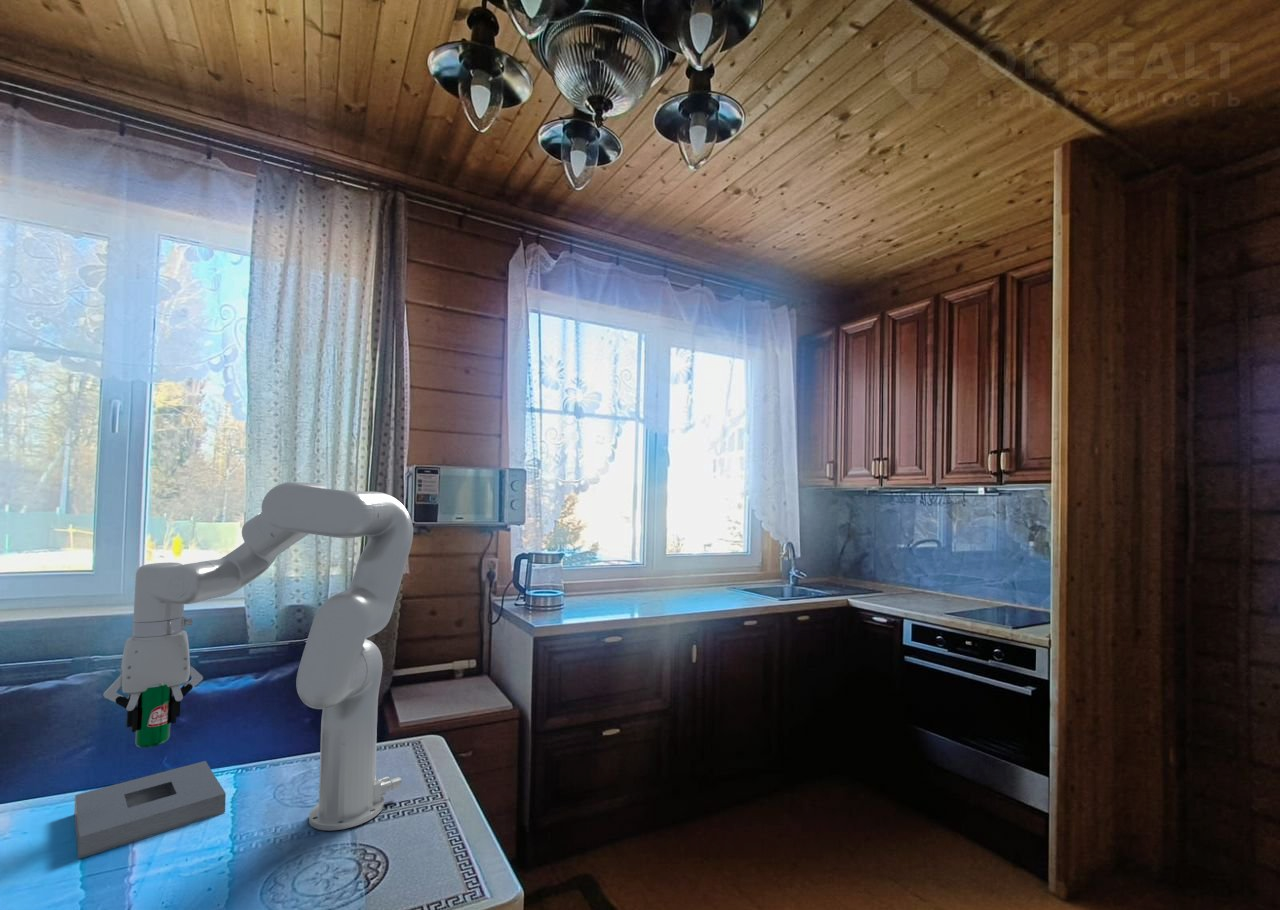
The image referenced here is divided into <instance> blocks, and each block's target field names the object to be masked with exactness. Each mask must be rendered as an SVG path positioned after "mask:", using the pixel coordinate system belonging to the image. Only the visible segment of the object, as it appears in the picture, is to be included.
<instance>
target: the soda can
mask: <svg viewBox="0 0 1280 910" xmlns="http://www.w3.org/2000/svg"><path fill="white" fill-rule="evenodd" d="M172 696H173V694H172V689H171V687H167V685H166V684H160V683H159V684H154V685H152V686H150V687H149V688H147V690H146V691H145V692H143V693H140V696H139V698H138V701H137V703H136V705H137V709H138V725H137V731H136V732H135V740H134V741H135V743H134V744H135V745H136V747H138V748H143V749H144V748H145V749H146V748H147V749H148V748H153V747H157V746H160V745H162V744H163V745H164V744H165V743H166V742H167V741H168V740H169V739H170V737H171V723H170V719H171V702H172Z"/></svg>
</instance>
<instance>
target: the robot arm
mask: <svg viewBox="0 0 1280 910" xmlns="http://www.w3.org/2000/svg"><path fill="white" fill-rule="evenodd" d="M308 535H317V536H324V537H331V538H337V539H354V538H360V537H361V538H362V537H368V538H367V539H368V540H367V543H366V545H365V546H364V549H363V550H362V552H361V554H360V556H359V558H358V560H357V563H356V566H355V571H354V573H353V577H352V580H351V582H350V584H349V585H348V586H349V587H348V589H346V590H344V591H340V592H338V593H336V594H334V595H331V596H330V597H329V598H328V599H326V600H325V601H324V602H323V603H322V605H320V607H319V608H318V610H317V612H316V614H315V616H314V618H313V620H312V623H311V626H310V629H309V632H308V636H307V639H306V643H305V645H304V649H303V652H302V656H301V660H300V661H299V662H300V663H299V666H298V670H297V673H296V678H295V679H296V680H295V681H296V682H295V683H296V684H295V685H296V691H297V694H298V697H299V698H300V699H299V700H301V701H302V703H303V704H304V705H306V706H307V707H308V708H312V709H315V710H322V713H321V723H320V753H319V754H320V755H319V756H320V757H319V786H318V787H319V791H318V793H319V794H318V795H319V796H318V803H317V804H316V805H314V807H313V808H312V809H311V810H310V812H308V813H309V814H308V823H309V825H310V827H312V828H314V829H316V830H319V831H328V832H329V831H330V832H331V831H340V830H347V829H350V828H351V829H352V828H354V827H357V826H360V825H363V824H365V823H367V822H369V821H370V820H372V819H374V818H375V817H377V816H378V815H379V813H381V812H382V810H383V809H384V806H385V797H384V795H386V792H389V791H395V790H396V789H400V788H401V787H402V779H401V777H400V776H398V777H395V778H394V777H393V778H391V779H390V777H389V776H388V775H387V776H385V777H382V778H379V779H377V777H376V776H377V743H378V742H377V740H378V739H377V738H378V737H377V736H378V734H377V732H378V731H377V730H378V729H377V728H378V707H379V693H380V686H381V683H382V674H383V664H384V663H383V657H382V653H381V650H380V649H379V647H378V646H377V644H375V643H374V642H373V641H371V640H369V639H368V638H370V637H372V636H375V635H376V634H378V633H379V632H382V630H383V629H384V628H386V627H387V625H388V624H389V622H390V619H391V617H392V614H393V611H394V606H395V603H396V600H397V596H398V593H399V591H400V586H401V583H402V580H403V579H402V578H403V575H404V571H405V568H406V565H407V562H408V558H409V555H410V553H411V548H412V544H413V539H414V526H413V521H412V518H411V515H410V512H409V511H408V510H407V508H406V506H404V504H403V503H402V502H400V501H399V500H398V499H397V498H396V497H394V496H392V495H390V494H388V493H385V492H381V491H380V492H379V491H371V490H370V491H368V490H367V491H359V490H358V491H356V490H355V491H354V490H353V491H351V490H341V489H333V488H328V487H327V486H324V485H323V484H319V483H316V482H315V483H314V482H299V481H296V482H295V481H293V482H292V481H289V482H288V481H287V482H283V483H280V484H278V485H276V486H274V487H272V488H271V489H270V490H268V492H267V493H266V494H265V496H264V497H263V499H262V501H261V512H259V513H258V514H257V515H254V516H253V517H252V518H250V519H249V520H247V521H246V522H245V523H244V524H243V526H242V529H241V537H242V539H243V543H242V544H240V545H239V546H238V547H236V548H235V549H233V550H232V551H231V552H229V553H227V554H226V555H224V556H223V557H221V558H219V559H211V560H204V561H198V562H192V563H186V564H182V563H180V562H154V563H148V564H144V565H141V566H140V567H138V569H137V570H136V572H135V582H134V583H135V585H134V601H133V617H132V618H133V619H132V621H133V622H132V636H130V637H128V638H126V641H125V644H124V648H123V653H122V657H121V667H120V672H119V673H120V675H119V676H118V677H117V678H116V679H115V681H114V682H113V683H111V685H110V686H108V688H107V689H106V690H105V691H104V692H103V694H102V695H103V697H104V699H107V700H109V701H111V702H114V703H116V705H117V704H118V705H119V706H120V707H122V708H124V709H125V710H126V725H125V727H126V728H130V730H131V733H136V731H137V725H138V709H137V703H138V698H139V696H140V693H143V692H145V691H146V690H147V688H149V687H150V686H152V685H154V684H159V683H160V684H166V685H167V687H171V689H172V702H171V719H170V724H171V725H172V724H173V725H174V724H176V722H177V718H178V717H180V716H181V701H182V700H183V698H184V697H185V696H186V695H187V694H188V693H189V692H191V690H192V689H193V688H195V687H196V686H197V685H198V684H199V683H200V682H202V681H203V680H204V676H203V675H202V674H201V673H200V672H198V671H197V670H196V669H195V668H194V667H193V666H192V665H191V662H190V660H191V659H190V644H189V638H188V633H187V630H184V629H185V628H186V627H188V626H193V618H192V617H191V618H190V617H189V618H188V617H185V616H184V613H185V612H184V611H185V610H184V609H185V605H190V604H191V605H192V604H195V603H196V604H197V603H201V602H204V601H208V600H213V599H217V598H221V597H227V596H229V595H231V594H233V593H235V592H237V591H239V590H240V589H242V588H243V587H244V588H245V586H247V585H248V584H250V583H251V582H252V581H254V580H255V579H257V578H258V577H260V576H261V575H263V574H264V573H265V572H266V571H267V570H268V569H269V568H270V567H271V566H272V565H273V563H274V562H275V561H276V558H277V557H278V556H279V555H280V554H282V553H283V552H285V551H286V550H288V549H289V548H290V547H292V546H293V545H295V544H296V543H298V542H300V541H301V540H302V539H304V538H305V537H307V536H308ZM190 677H191V679H190ZM189 679H190V680H189ZM180 686H181V687H180ZM120 689H121V692H122V693H123V694H126V695H128V696H127V697H126V696H124V695H122V694H119V693H118V690H120Z"/></svg>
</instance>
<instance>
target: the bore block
mask: <svg viewBox="0 0 1280 910" xmlns="http://www.w3.org/2000/svg"><path fill="white" fill-rule="evenodd" d="M226 795H227V793H226V791H225V790H224V788H223V787H222V785H221V783H220V781H219V780H218V779H217V777H216V776H215V774H214V772H213V771H212V769H211V767H210V766H209V764H208V762H207V761H206V760H204V761H200V762H197V763H195V762H194V763H192V764H189V765H184V766H181V767H178V768H177V767H176V768H172V769H168V770H166V771H161V772H157V773H154V774H149V775H146V776H143V777H142V776H141V777H139V778H135V779H131V780H127V781H123V782H120V783H116V784H112V785H109V786H104V787H100V788H97V789H92V790H89V791H85V792H82V793H81V792H80V793H79V794H75V795H74V811H73V812H74V814H73V816H75V817H74V826H75V835H76V836H75V837H76V846H77V857H78V860H82V859H84V858H87V857H89V856H90V857H91V856H94V855H96V854H99V853H103V852H106V851H109V850H112V849H116V848H119V847H122V846H124V845H128V844H131V843H134V842H137V841H141V840H144V839H148V838H149V837H152V836H153V837H154V836H156V835H159V834H163V833H165V832H166V833H167V832H169V831H172V830H175V829H178V828H181V827H184V826H187V825H188V826H189V825H190V824H193V823H196V822H199V821H200V822H201V821H203V820H206V819H209V818H213V817H215V816H218V815H221V814H225V813H226V799H227V798H226ZM224 812H225V813H224Z"/></svg>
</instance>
